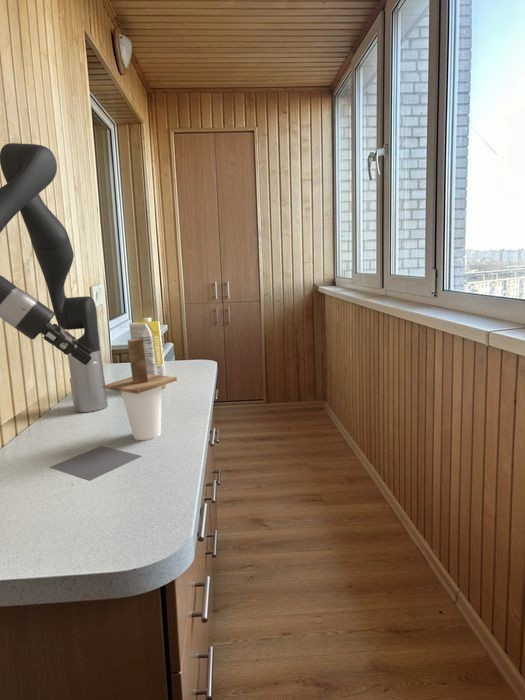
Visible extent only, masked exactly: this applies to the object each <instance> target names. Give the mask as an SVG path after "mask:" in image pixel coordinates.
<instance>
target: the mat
mask: <svg viewBox="0 0 525 700" xmlns="http://www.w3.org/2000/svg"><path fill="white" fill-rule="evenodd" d="M139 458H142V455H139V454H136V453H132V452H128V451H124V450H121V449H116V448H111V447H108V446H104V445H100V446H98V447H95V448H91V449H90V450H87V451H85V452H82V453H80V454H78V455H76V456H73V457H71V458H68V459H66V460H64V461H61V462H58V463H56V464H54V465H51V466H49V468H50V469H53V470H56V471H59V472H63V473H66V474H68V475H70V476H71V475H72V476H74V477H77V478H80V479H83V480H86V481H89V482H90V481H92V480H94V479H97V478H99V477H101V476H103V475H105V474H108V473H109V472H111V471H114V470H115V469H118V468H121V467H122V466H124V465H126V464H128V463H130V462H133V461H135V460H137V459H139Z"/></svg>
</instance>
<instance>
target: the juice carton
mask: <svg viewBox="0 0 525 700" xmlns="http://www.w3.org/2000/svg"><path fill="white" fill-rule="evenodd" d="M129 330H130V331H129V332H130V333H129V334H130V339H137V338H142V339H143V345H144V353H145V362H146V370H147V374H150V375H159V376H166V374H167V373H166V365H165V356H164V349H163V341H162V340H163V339H162V332H161V324H160V321H159V320H152V317H143V320H139V321H134V322H129ZM167 386H168V384H166V385H163V386H162V390H163V389H165V388H167Z"/></svg>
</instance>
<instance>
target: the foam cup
mask: <svg viewBox="0 0 525 700" xmlns="http://www.w3.org/2000/svg"><path fill="white" fill-rule="evenodd" d="M120 392H121V393H120V394H121V399H123V403H124V407H125V410H126V414H127V415H126V416H127V418H128V421H129V425H130V428H131V429H130V430H131V433H132V435H133V438H134V439H135V440H136V441H149V440H154V439H156V438H159V436H160V435H162V393H163V389H162V386H160V387H157V388H154V389H151V390H148V391H145V392H142V393H139V394H135V393H128V392H122V391H120Z"/></svg>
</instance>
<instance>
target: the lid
mask: <svg viewBox="0 0 525 700" xmlns="http://www.w3.org/2000/svg"><path fill="white" fill-rule="evenodd" d="M127 347H128V354H129V355H128V356H129V362H130V371H131V377H127V378H124V379H123V378H122V379H120V380H117V381H114V382H113V381H112V382H111V383H107V384H105V385H103V388H104V389H106V390H108V391H109V390H110V391H115V392H116V391H117V392H121V391H122V392H128V393H135V394H139V393H142V392H145V391H148V390H151V389H154V388H157V387H160V386H163V385H166V384H167V385H168V384H172V383H174V382H177V381H178V380H177V379H178V378H177V376H169V375H167V376H159V375H150V374H147V370H146V362H145V353H144V345H143V339H142V338H137V339H131V338H129V339H127Z"/></svg>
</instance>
